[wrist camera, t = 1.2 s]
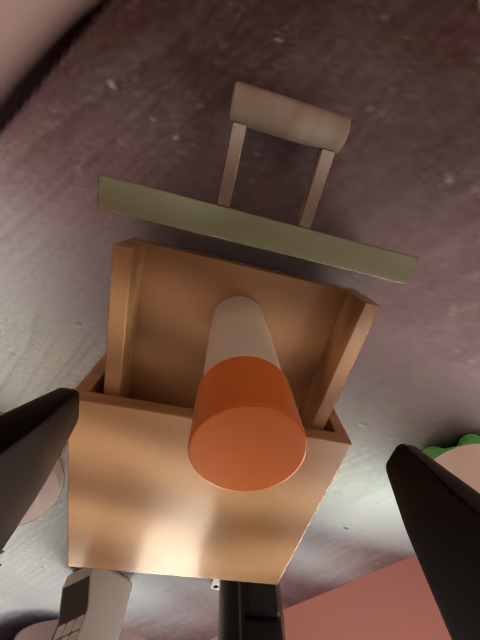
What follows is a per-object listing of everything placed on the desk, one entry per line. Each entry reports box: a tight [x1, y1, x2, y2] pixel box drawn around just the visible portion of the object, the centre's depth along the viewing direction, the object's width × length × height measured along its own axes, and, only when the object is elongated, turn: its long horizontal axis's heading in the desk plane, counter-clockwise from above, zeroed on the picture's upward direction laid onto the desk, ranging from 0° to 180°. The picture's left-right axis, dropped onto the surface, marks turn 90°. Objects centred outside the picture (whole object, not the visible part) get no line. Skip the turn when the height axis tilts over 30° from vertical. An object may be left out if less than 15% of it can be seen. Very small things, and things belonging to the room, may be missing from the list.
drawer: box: [97, 81, 419, 430], centre depth 14 cm, size 18×13×3 cm
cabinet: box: [68, 354, 352, 585], centre depth 18 cm, size 14×14×5 cm
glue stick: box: [188, 296, 307, 492], centre depth 11 cm, size 3×3×8 cm
